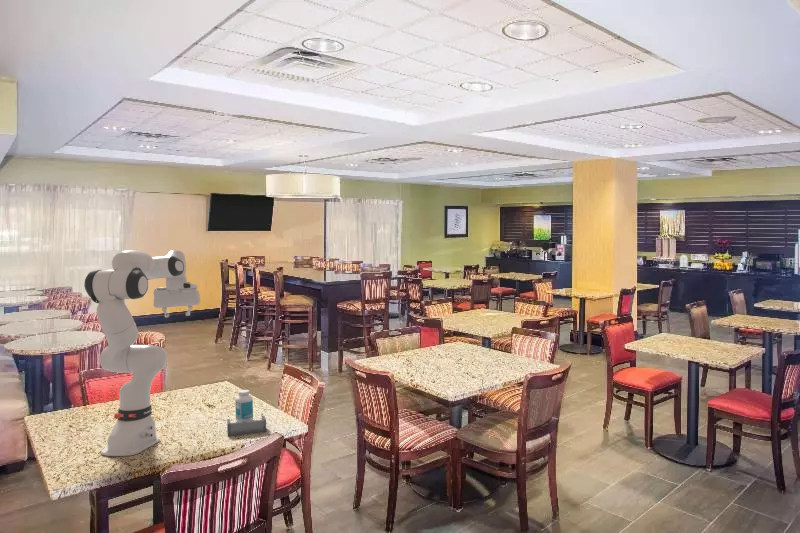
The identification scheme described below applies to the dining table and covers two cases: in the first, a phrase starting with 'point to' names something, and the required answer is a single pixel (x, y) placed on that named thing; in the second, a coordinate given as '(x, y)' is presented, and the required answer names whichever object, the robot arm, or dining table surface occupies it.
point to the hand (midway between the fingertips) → (177, 316)
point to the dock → (246, 427)
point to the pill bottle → (244, 406)
